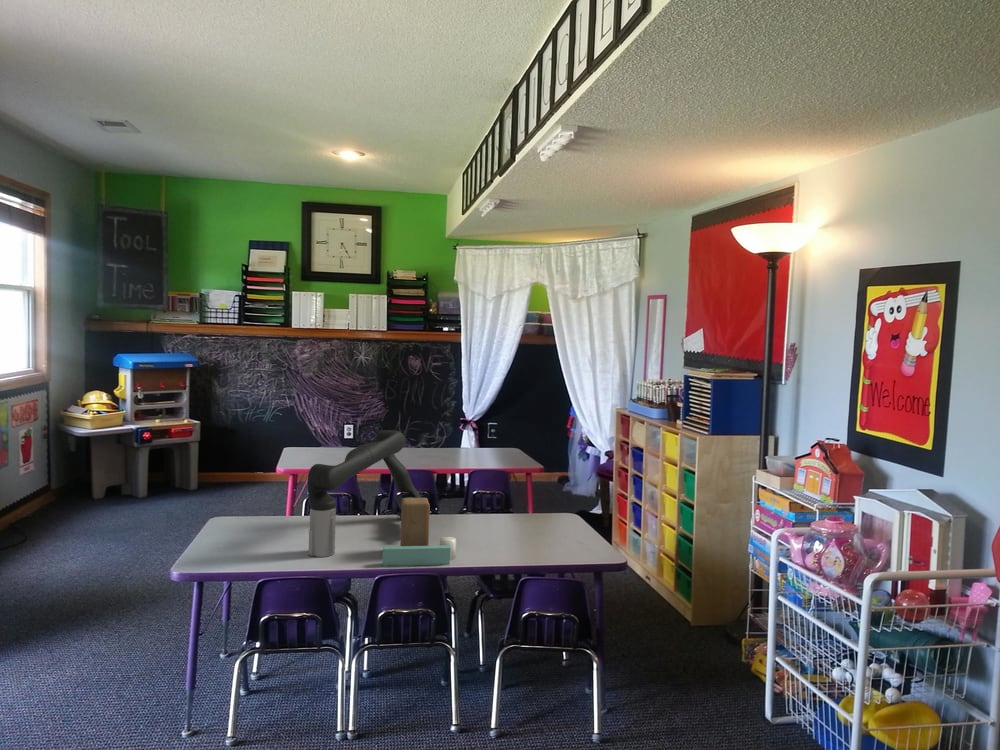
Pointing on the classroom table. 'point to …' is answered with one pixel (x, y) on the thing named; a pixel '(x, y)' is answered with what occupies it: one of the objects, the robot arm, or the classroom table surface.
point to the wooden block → (415, 522)
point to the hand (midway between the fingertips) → (413, 521)
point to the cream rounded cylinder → (451, 542)
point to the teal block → (416, 555)
